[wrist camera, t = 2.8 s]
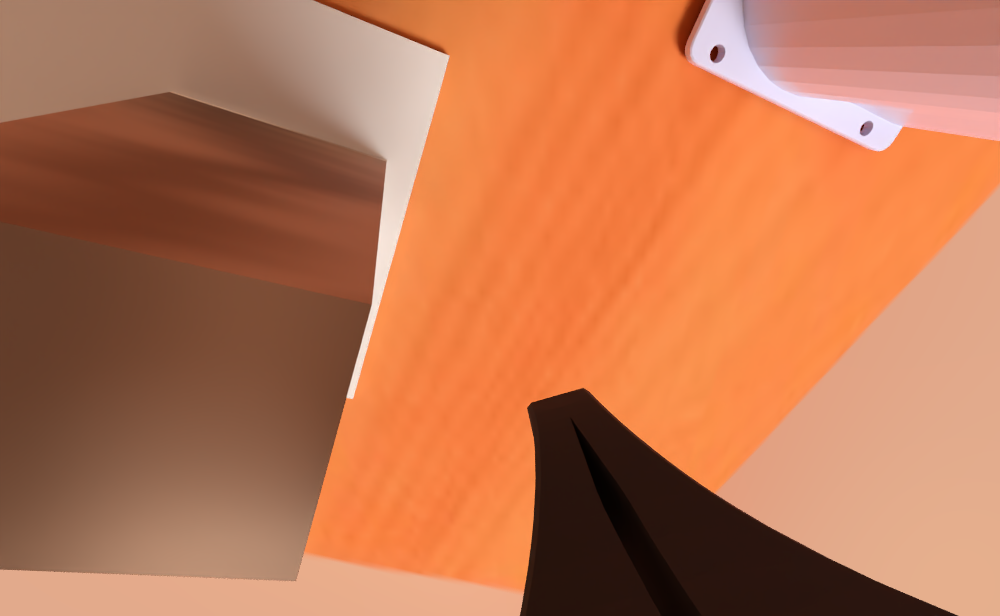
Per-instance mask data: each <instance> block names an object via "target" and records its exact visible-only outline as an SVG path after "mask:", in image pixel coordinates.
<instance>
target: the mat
mask: <svg viewBox="0 0 1000 616" xmlns="http://www.w3.org/2000/svg"><path fill="white" fill-rule="evenodd" d="M448 60H449V55H446V54H444V53H441V52H439V51H436V50H434V49H431V48H429V47H427V46H424V45H422V44H419V43H417V42H414V41H412V40H409V39H407V38H404V37H402V36H400V35H397V34H395V33H392V32H390V31H387V30H385V29H382V28H380V27H377V26H375V25H373V24H370V23H368V22H365V21H363V20H360V19H358V18H355V17H353V16H350V15H348V14H345V13H343V12H341V11H338V10H336V9H333V8H331V7H328V6H326V5H323V4H321V3H318V2H316V1H314V0H0V123H1V122H7V121H12V120H18V119H23V118H29V117H34V116H40V115H45V114H51V113H56V112H62V111H67V110H73V109H78V108H84V107H89V106H95V105H100V104H106V103H111V102H117V101H122V100H128V99H133V98H139V97H144V96H150V95H155V94H161V93H166V92H172V91H173V92H176V93H179V94H182V95H185V96H188V97H191V98H194V99H197V100H201V101H204V102H207V103H210V104H213V105H216V106H219V107H222V108H225V109H229V110H232V111H235V112H238V113H241V114H244V115H247V116H250V117H254V118H257V119H260V120H263V121H266V122H269V123H272V124H275V125H278V126H282V127H285V128H288V129H291V130H294V131H297V132H300V133H303V134H306V135H310V136H313V137H316V138H319V139H322V140H325V141H328V142H331V143H334V144H338V145H341V146H344V147H347V148H350V149H353V150H356V151H359V152H362V153H366V154H369V155H372V156H375V157H378V158H381V159H384V160H387V163H386V173H385V182H384V192H383V202H382V211H381V221H380V231H379V241H378V250H377V260H376V270H375V279H374V289H373V299H372V306H371V310H370V313H369V317H368V321H367V324H366V328H365V332H364V335H363V339H362V343H361V346H360V350H359V353H358V357H357V361H356V364H355V368H354V372H353V375H352V379H351V383H350V386H349V390H348V394H347V397H346V398H351V399H353V397H354V393H355V390H356V386H357V383H358V379H359V376H360V372H361V369H362V365H363V362H364V358H365V354H366V351H367V347H368V344H369V340H370V337H371V333H372V330H373V326H374V322H375V319H376V315H377V312H378V308H379V305H380V301H381V298H382V294H383V291H384V287H385V283H386V280H387V276H388V273H389V269H390V266H391V262H392V259H393V255H394V252H395V248H396V244H397V241H398V237H399V234H400V230H401V227H402V223H403V220H404V216H405V212H406V209H407V205H408V202H409V198H410V195H411V191H412V188H413V184H414V181H415V177H416V173H417V170H418V166H419V163H420V159H421V156H422V152H423V149H424V145H425V142H426V138H427V134H428V131H429V127H430V124H431V120H432V117H433V113H434V110H435V106H436V103H437V99H438V95H439V92H440V88H441V85H442V81H443V78H444V74H445V71H446V67H447V63H448Z"/></svg>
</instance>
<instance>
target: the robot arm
mask: <svg viewBox="0 0 1000 616" xmlns="http://www.w3.org/2000/svg"><path fill="white" fill-rule="evenodd" d="M714 46H716V47H717V48H718V55H717V58H716V59H715V60H714V61H713V62H712V61H711V59H710V53H711V50H712V49H713V47H714ZM685 56H686V58H687V60H688V61H689V62H690V63H691V64H693V65H695V66H697V67H699V68H701V69H703V70H705V71H707V72H709V73H711V74H713V75H715V76H718V77H720V78H722V79H724V80H726V81H728V82H730V83H732V84H734V85H736V86H738V87H740V88H742V89H744V90H747V91H749V92H751V93H753V94H755V95H757V96H759V97H761V98H763V99H765V100H767V101H769V102H771V103H773V104H776V105H778V106H780V107H782V108H784V109H786V110H788V111H790V112H792V113H794V114H796V115H798V116H800V117H803V118H805V119H807V120H809V121H811V122H813V123H815V124H817V125H819V126H821V127H823V128H825V129H827V130H829V131H832V132H834V133H836V134H838V135H840V136H842V137H844V138H846V139H848V140H850V141H852V142H854V143H856V144H859V145H861V146H863V147H865V148H867V149H870V150H874V151H882V150H884V149H886V148H887V147H889V146H890V144H891V143H892V142H893V141H894V139H895V138H896V136H897V135H898V133H899V132H900V130H901V129H902V127H903V126H904V127H910V128H917V129H924V130H930V131H937V132H944V133H950V134H957V135H964V136H970V137H977V138H983V139H990V140H997V141H1000V0H706V1H705V3H704V5H703V8H702V10H701V12H700V14H699V16H698V18H697V21H696V23H695V25H694V27H693V29H692V32H691V34H690V36H689V38H688V40H687V43H686V47H685ZM863 124H864V127H863V129H862V130H861V132H860V128H861V126H862V125H863ZM527 409H528V413H529V418H530V422H531V427H532V431H533V436H534V444H535V471H536V485H535V505H534V521H533V532H532V542H531V550H530V558H529V566H528V572H527V578H526V584H525V590H524V596H523V602H522V608H521V613H520V616H957V615H955V614H953V613H950V612H948V611H946V610H943V609H941V608H938V607H936V606H934V605H931V604H929V603H926V602H924V601H922V600H919V599H917V598H915V597H912V596H910V595H907V594H905V593H903V592H900V591H898V590H896V589H893V588H891V587H888V586H886V585H884V584H881V583H879V582H877V581H875V580H873V579H871V578H868V577H866V576H864V575H862V574H860V573H858V572H856V571H854V570H852V569H850V568H848V567H845V566H843V565H841V564H839V563H837V562H835V561H833V560H831V559H829V558H827V557H825V556H823V555H821V554H819V553H817V552H816V551H814V550H811V549H810V548H808V547H806V546H804V545H802V544H800V543H799V542H797V541H795V540H793V539H791V538H789V537H787V536H785V535H783V534H781V533H780V532H778V531H776V530H774V529H772V528H770V527H768V526H766V525H765V524H763V523H761V522H760V521H758V520H756V519H755V518H753V517H751V516H750V515H748V514H746V513H745V512H743V511H741V510H740V509H738V508H736V507H735V506H733V505H731V504H730V503H728V502H727V501H725V500H723V499H722V498H720V497H719V496H717V495H716V494H714V493H713V492H711V491H710V490H708V489H707V488H705V487H704V486H702V485H701V484H699V483H698V482H696V481H695V480H694V479H692V478H691V477H689V476H688V475H686V474H685V473H684V472H682V471H681V470H680V469H678V468H677V467H676V466H674V465H673V464H671V463H670V462H669V461H667V460H666V459H665V458H664V457H662V456H661V455H660V454H658V453H657V452H656V451H655V450H653V449H652V448H651V447H650V446H648V445H647V444H646V443H645V442H644V441H642V440H641V439H640V438H639V437H637V436H636V435H635V434H634V433H633V432H631V431H630V430H629V429H628V428H627V427H626V426H624V425H623V424H622V423H621V422H620V421H619V420H618V419H617V418H616V417H614V416H613V415H612V414H611V413H610V412H609V411H608V410H607V409H606V408H605V407H604V406H603V405H602V404H601V403H600V402H599V401H598V400H597V399H596V398H595V397H594V396H593V395H592V394H591V393H590V392H589V391H587V390H586V389H584V388H582V389H578V390H575V391H571V392H568V393H564V394H561V395H557V396H553V397H550V398H546V399H543V400H539V401H536V402H532V403H531V404H530V405H529V406H528V408H527Z"/></svg>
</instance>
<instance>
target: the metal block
mask: <svg viewBox="0 0 1000 616" xmlns="http://www.w3.org/2000/svg"><path fill="white" fill-rule="evenodd" d="M386 163H387V160H384V159H381V158H378V157H375V156H372V155H369V154H366V153H362V152H359V151H356V150H353V149H350V148H347V147H344V146H341V145H338V144H334V143H331V142H328V141H325V140H322V139H319V138H316V137H313V136H310V135H306V134H303V133H300V132H297V131H294V130H291V129H288V128H285V127H282V126H278V125H275V124H272V123H269V122H266V121H263V120H260V119H257V118H254V117H250V116H247V115H244V114H241V113H238V112H235V111H232V110H229V109H225V108H222V107H219V106H216V105H213V104H210V103H207V102H204V101H201V100H197V99H194V98H191V97H188V96H185V95H182V94H179V93H176V92H173V91H172V92H166V93H161V94H155V95H150V96H144V97H139V98H133V99H128V100H122V101H117V102H111V103H106V104H100V105H95V106H89V107H84V108H78V109H73V110H67V111H62V112H56V113H51V114H45V115H40V116H34V117H29V118H23V119H18V120H12V121H7V122H1V123H0V569H4V570H30V571H54V572H78V573H79V572H80V573H103V574H130V575H154V576H179V577H204V578H229V579H254V580H255V579H256V580H279V581H296V579H297V575H298V572H299V568H300V565H301V561H302V557H303V554H304V550H305V546H306V543H307V539H308V536H309V532H310V528H311V525H312V521H313V517H314V514H315V510H316V506H317V503H318V499H319V495H320V492H321V488H322V485H323V481H324V477H325V474H326V470H327V466H328V463H329V459H330V455H331V452H332V448H333V444H334V441H335V437H336V434H337V430H338V426H339V423H340V419H341V415H342V412H343V408H344V404H345V401H346V397H347V394H348V390H349V386H350V383H351V379H352V375H353V372H354V368H355V364H356V361H357V357H358V353H359V350H360V346H361V343H362V339H363V335H364V332H365V328H366V324H367V321H368V317H369V313H370V310H371V306H372V299H373V289H374V279H375V270H376V260H377V250H378V241H379V231H380V221H381V211H382V202H383V192H384V182H385V173H386Z"/></svg>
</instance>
